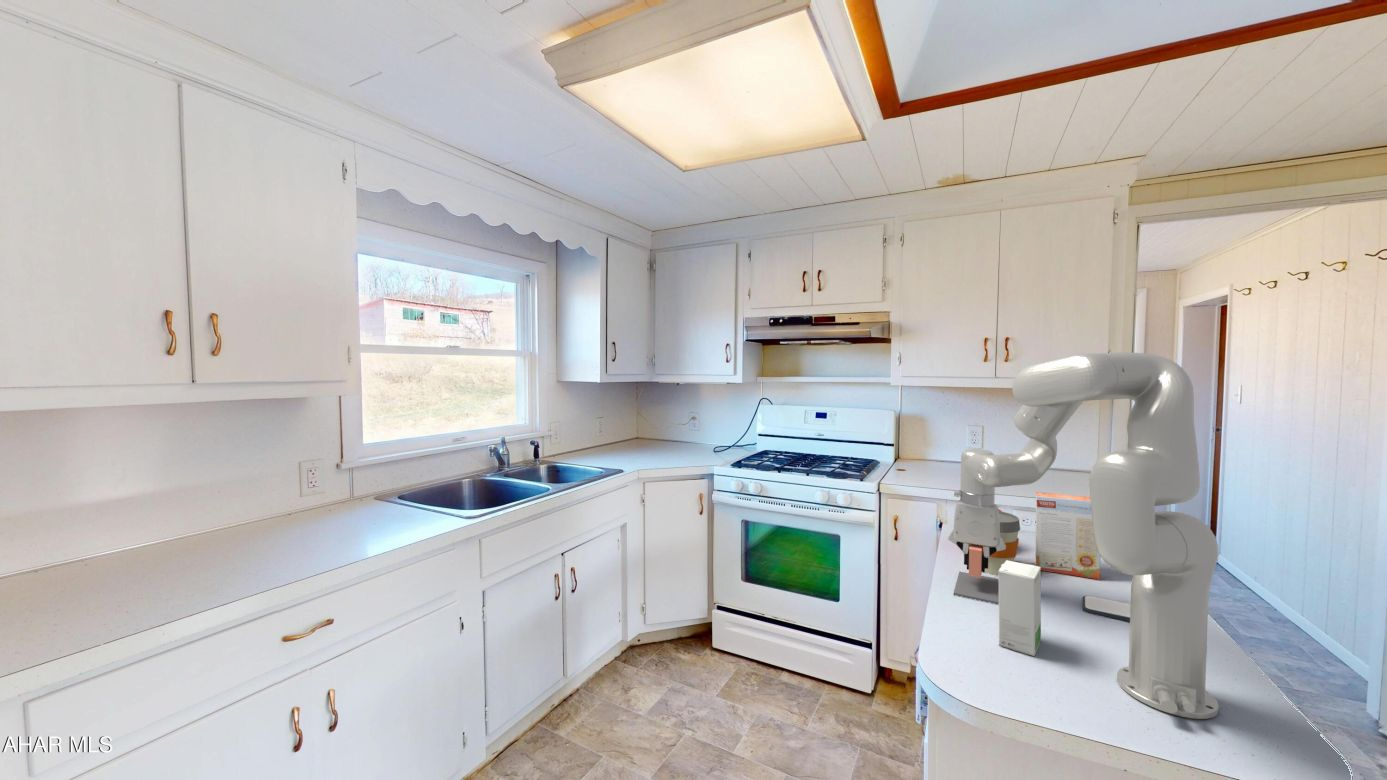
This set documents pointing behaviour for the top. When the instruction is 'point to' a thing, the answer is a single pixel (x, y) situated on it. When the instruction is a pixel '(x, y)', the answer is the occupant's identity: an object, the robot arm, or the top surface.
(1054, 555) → the cracker box
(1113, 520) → the robot arm
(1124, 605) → the smartphone
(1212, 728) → the top surface
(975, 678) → the top surface
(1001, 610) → the skincare box
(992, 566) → the reusable coffee cup
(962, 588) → the mat
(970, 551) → the card box
